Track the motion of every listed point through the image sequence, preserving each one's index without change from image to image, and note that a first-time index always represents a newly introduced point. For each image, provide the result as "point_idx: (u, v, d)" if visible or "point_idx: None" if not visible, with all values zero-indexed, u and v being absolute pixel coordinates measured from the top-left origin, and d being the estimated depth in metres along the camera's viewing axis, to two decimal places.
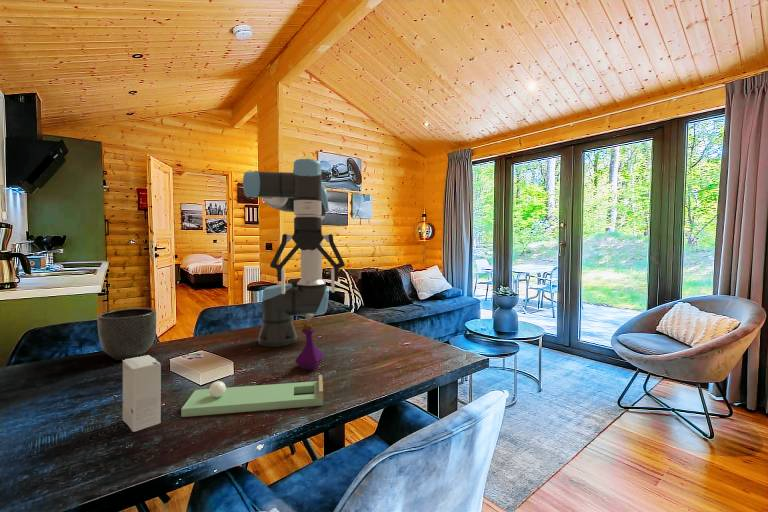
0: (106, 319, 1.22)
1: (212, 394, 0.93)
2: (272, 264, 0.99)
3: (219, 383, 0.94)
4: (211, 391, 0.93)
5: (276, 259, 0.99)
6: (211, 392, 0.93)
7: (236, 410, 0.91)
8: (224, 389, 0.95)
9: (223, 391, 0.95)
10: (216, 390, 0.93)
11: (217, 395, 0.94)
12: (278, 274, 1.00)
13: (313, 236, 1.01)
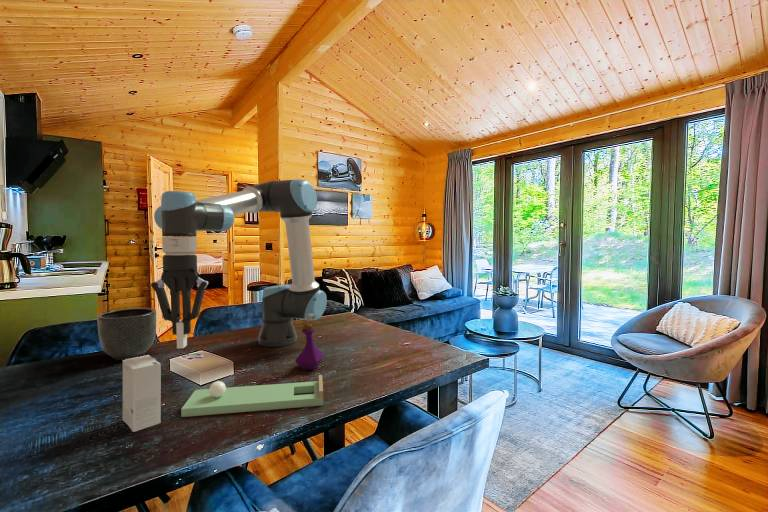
0: (106, 319, 1.22)
1: (212, 394, 0.93)
2: (165, 316, 0.90)
3: (219, 383, 0.94)
4: (211, 391, 0.93)
5: (164, 310, 0.90)
6: (211, 392, 0.93)
7: (236, 410, 0.91)
8: (224, 389, 0.95)
9: (223, 391, 0.95)
10: (216, 390, 0.93)
11: (217, 395, 0.94)
12: (173, 327, 0.91)
13: (185, 276, 0.91)
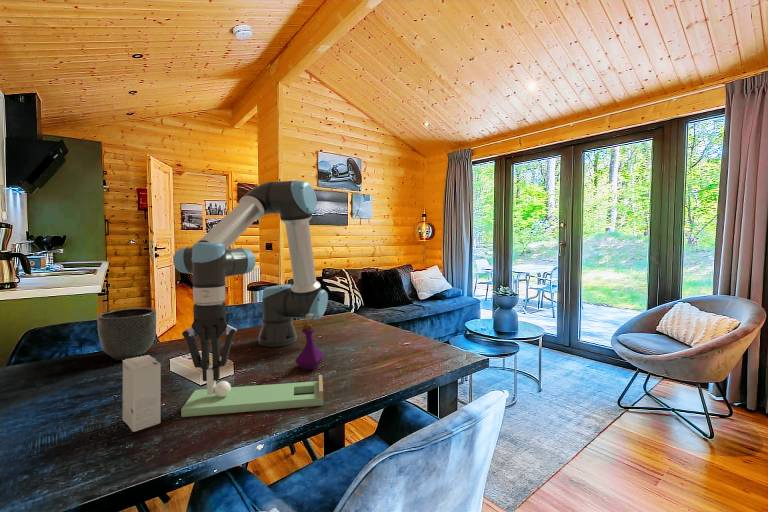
0: (106, 319, 1.22)
1: (216, 392, 0.94)
2: (195, 364, 0.93)
3: (228, 386, 0.95)
4: (217, 389, 0.94)
5: (195, 357, 0.93)
6: (217, 390, 0.94)
7: (236, 410, 0.91)
8: (228, 393, 0.95)
9: (226, 394, 0.95)
10: (222, 390, 0.94)
11: (220, 395, 0.94)
12: (203, 373, 0.94)
13: (215, 324, 0.93)
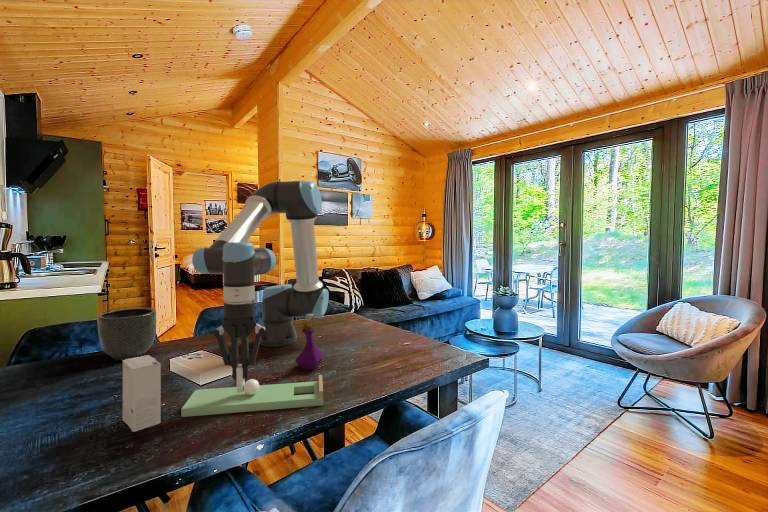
0: (106, 319, 1.22)
1: (254, 388, 0.95)
2: (226, 362, 0.94)
3: None
4: (253, 391, 0.95)
5: (225, 356, 0.94)
6: (254, 390, 0.95)
7: (236, 410, 0.91)
8: (244, 385, 0.96)
9: (245, 385, 0.95)
10: (248, 391, 0.95)
11: (250, 385, 0.95)
12: (233, 372, 0.95)
13: (244, 323, 0.94)
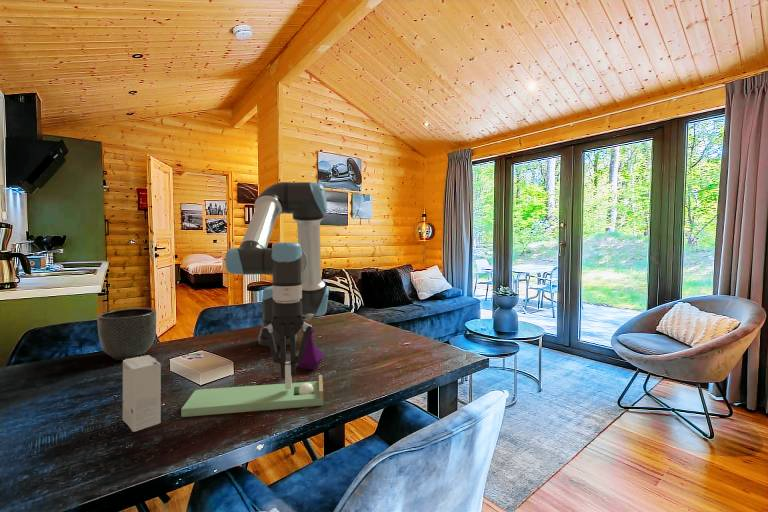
0: (106, 319, 1.22)
1: (310, 393, 0.98)
2: (275, 360, 0.96)
3: None
4: None
5: (274, 353, 0.96)
6: None
7: (236, 410, 0.91)
8: (301, 387, 0.98)
9: (302, 387, 0.98)
10: (304, 394, 0.97)
11: (307, 389, 0.98)
12: (282, 369, 0.97)
13: (293, 321, 0.97)
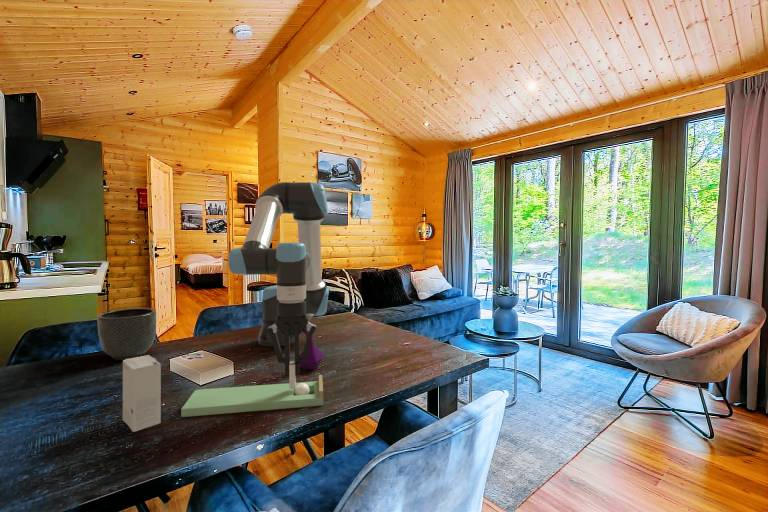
0: (106, 319, 1.22)
1: (305, 391, 0.98)
2: (279, 359, 0.96)
3: None
4: (305, 394, 0.98)
5: (279, 353, 0.96)
6: (306, 393, 0.98)
7: (236, 410, 0.91)
8: (295, 391, 0.98)
9: (296, 390, 0.98)
10: None
11: (301, 389, 0.97)
12: (286, 369, 0.97)
13: (297, 321, 0.97)
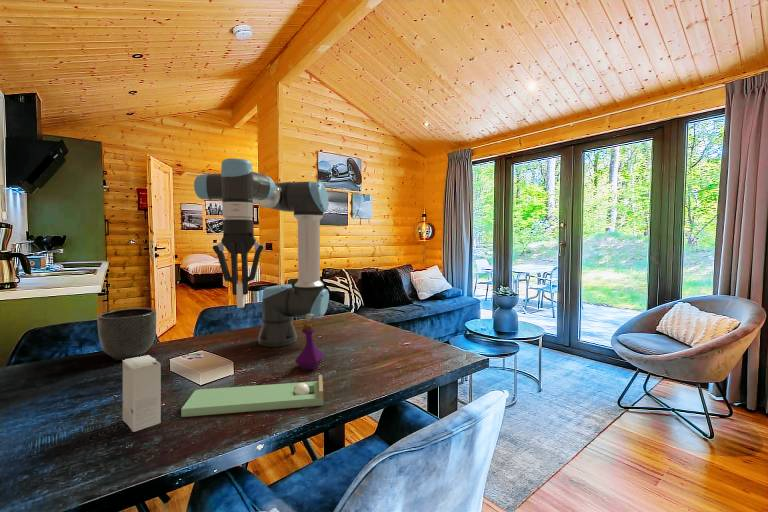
0: (106, 319, 1.22)
1: (305, 391, 0.98)
2: (226, 278, 0.96)
3: None
4: (305, 394, 0.98)
5: (225, 271, 0.96)
6: (305, 393, 0.98)
7: (236, 410, 0.91)
8: (294, 391, 0.98)
9: (295, 390, 0.98)
10: None
11: (300, 389, 0.97)
12: (233, 287, 0.97)
13: (244, 239, 0.96)
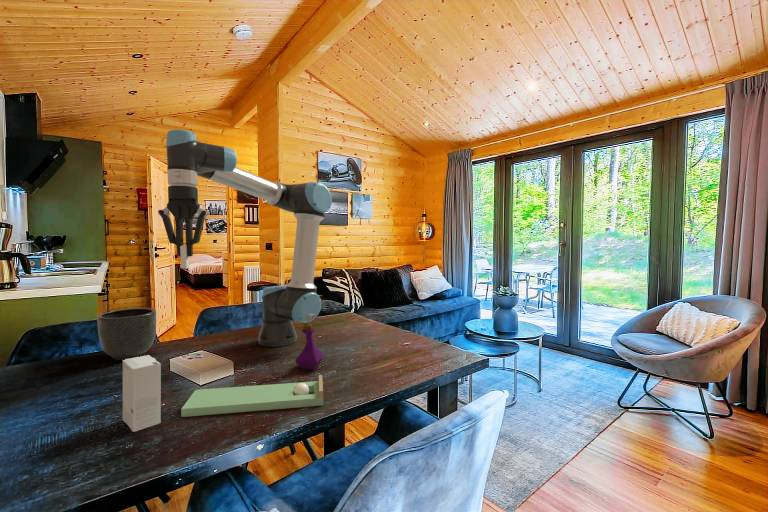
0: (106, 319, 1.22)
1: (304, 391, 0.98)
2: (170, 240, 1.04)
3: None
4: (305, 394, 0.98)
5: (170, 234, 1.04)
6: (305, 393, 0.98)
7: (236, 410, 0.91)
8: (294, 391, 0.98)
9: (295, 390, 0.98)
10: None
11: (300, 389, 0.97)
12: (178, 249, 1.05)
13: (187, 205, 1.05)
